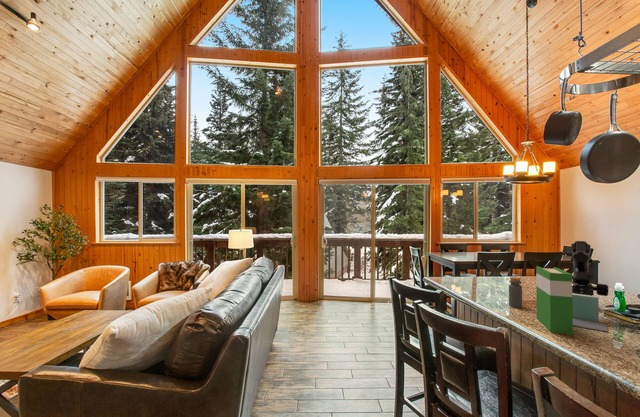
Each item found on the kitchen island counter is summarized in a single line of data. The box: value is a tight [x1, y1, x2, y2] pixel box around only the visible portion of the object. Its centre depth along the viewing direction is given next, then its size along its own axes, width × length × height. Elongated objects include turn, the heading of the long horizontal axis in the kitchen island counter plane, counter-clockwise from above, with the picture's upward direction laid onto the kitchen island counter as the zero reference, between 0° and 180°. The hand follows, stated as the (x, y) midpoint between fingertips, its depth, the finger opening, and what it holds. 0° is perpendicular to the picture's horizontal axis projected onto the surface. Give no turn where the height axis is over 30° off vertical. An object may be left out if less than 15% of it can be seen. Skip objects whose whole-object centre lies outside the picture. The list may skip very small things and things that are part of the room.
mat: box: [573, 318, 609, 333], centre depth 135 cm, size 12×15×1 cm
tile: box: [572, 293, 600, 322], centre depth 141 cm, size 3×11×11 cm, turn 51°
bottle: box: [508, 276, 523, 309], centre depth 161 cm, size 6×6×15 cm
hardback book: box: [535, 265, 574, 336], centre depth 132 cm, size 18×7×24 cm, turn 160°
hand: (582, 302), depth 143 cm, fingers closed
